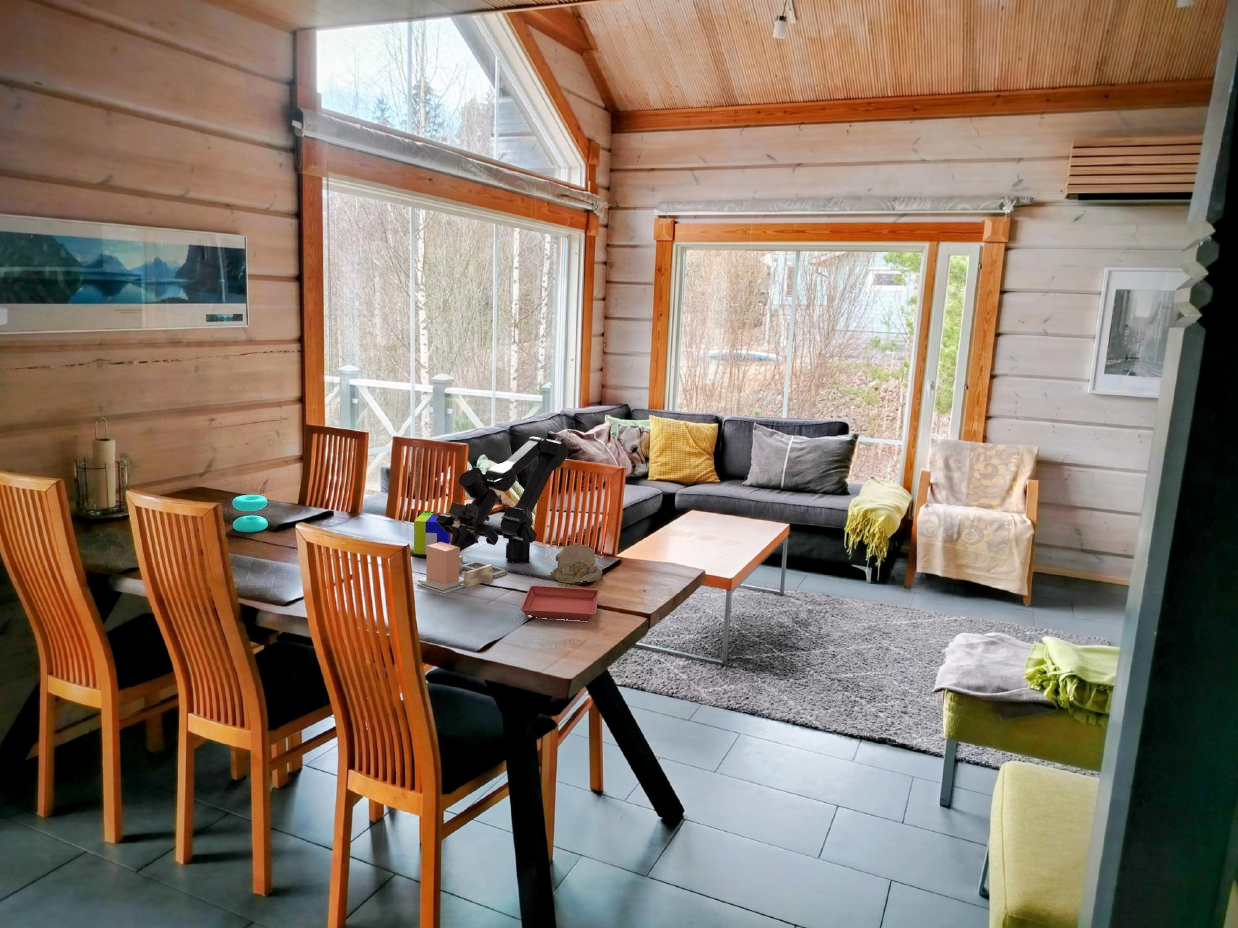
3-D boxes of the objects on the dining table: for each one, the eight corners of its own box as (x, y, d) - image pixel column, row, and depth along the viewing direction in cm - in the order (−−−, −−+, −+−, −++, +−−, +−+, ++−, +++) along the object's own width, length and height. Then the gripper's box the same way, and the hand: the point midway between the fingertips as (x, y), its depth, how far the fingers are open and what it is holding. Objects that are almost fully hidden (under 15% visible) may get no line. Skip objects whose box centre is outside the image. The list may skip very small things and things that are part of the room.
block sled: (442, 574, 237) (443, 539, 235) (467, 581, 232) (467, 546, 230) (417, 582, 229) (418, 546, 227) (442, 590, 224) (443, 553, 222)
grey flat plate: (475, 564, 249) (475, 560, 249) (507, 573, 243) (507, 570, 243) (460, 568, 244) (460, 565, 244) (492, 578, 238) (492, 575, 238)
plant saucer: (529, 596, 227) (530, 584, 226) (598, 600, 227) (599, 588, 226) (519, 622, 209) (520, 608, 209) (594, 626, 209) (595, 613, 208)
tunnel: (459, 569, 244) (460, 555, 243) (492, 578, 238) (492, 564, 237) (433, 577, 236) (433, 563, 235) (466, 587, 229) (466, 573, 229)
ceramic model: (555, 584, 237) (556, 549, 235) (546, 571, 247) (548, 537, 245) (605, 582, 241) (607, 547, 239) (594, 569, 251) (596, 536, 249)
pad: (436, 578, 235) (436, 576, 235) (463, 586, 230) (463, 585, 230) (417, 584, 230) (417, 583, 230) (444, 593, 224) (444, 591, 224)
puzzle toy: (447, 555, 256) (448, 523, 254) (413, 553, 256) (414, 520, 254) (454, 546, 266) (455, 514, 264) (422, 544, 266) (422, 512, 264)
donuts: (254, 492, 276) (274, 497, 270) (255, 522, 278) (274, 528, 272) (225, 497, 267) (245, 503, 262) (226, 528, 269) (245, 535, 264)
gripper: (441, 484, 238) (410, 531, 231) (492, 496, 227) (461, 546, 221) (461, 508, 246) (431, 553, 239) (511, 520, 235) (482, 568, 229)
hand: (450, 555), depth 231 cm, fingers closed
